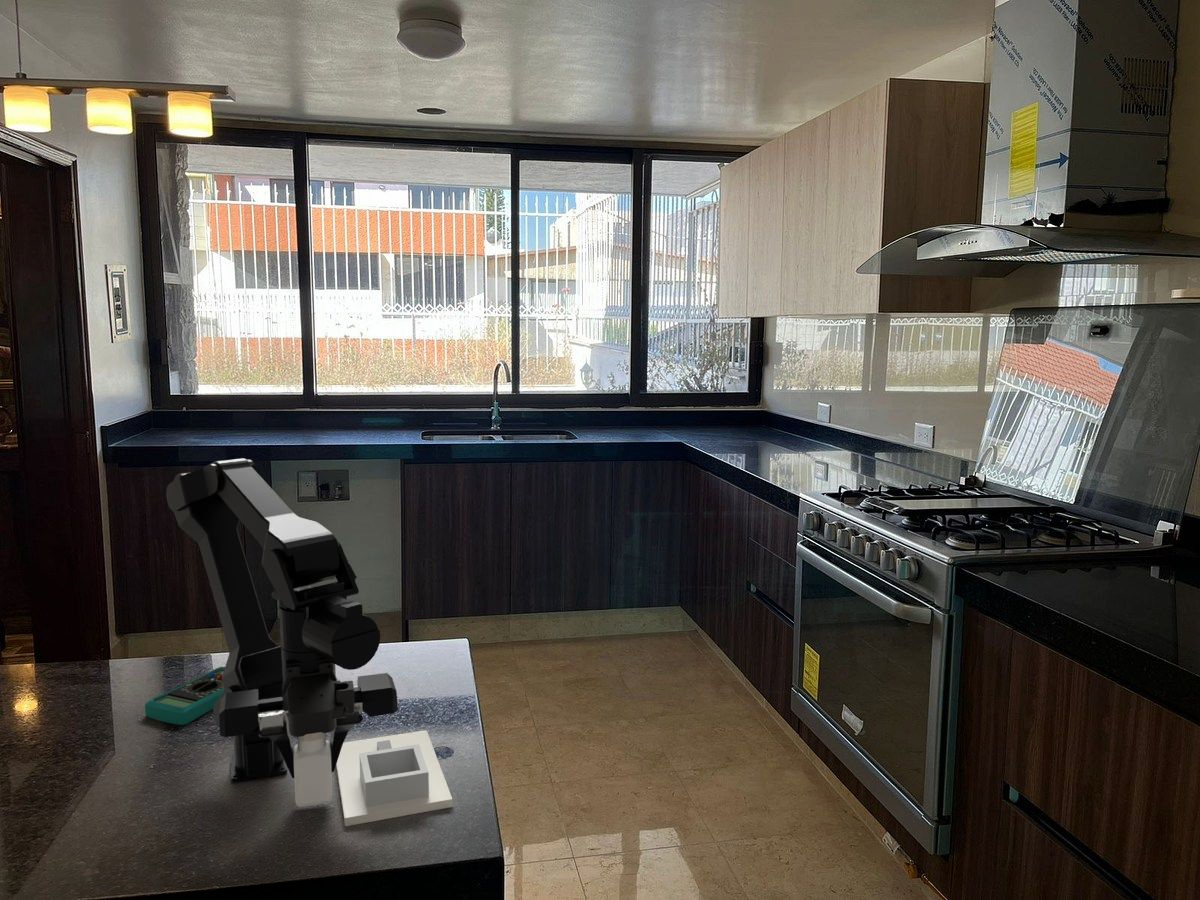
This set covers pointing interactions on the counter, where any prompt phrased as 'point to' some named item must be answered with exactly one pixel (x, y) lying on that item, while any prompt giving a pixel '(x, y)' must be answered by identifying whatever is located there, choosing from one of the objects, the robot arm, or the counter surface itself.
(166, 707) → the digital multimeter
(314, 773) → the pepper shaker
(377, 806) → the outlet plate
